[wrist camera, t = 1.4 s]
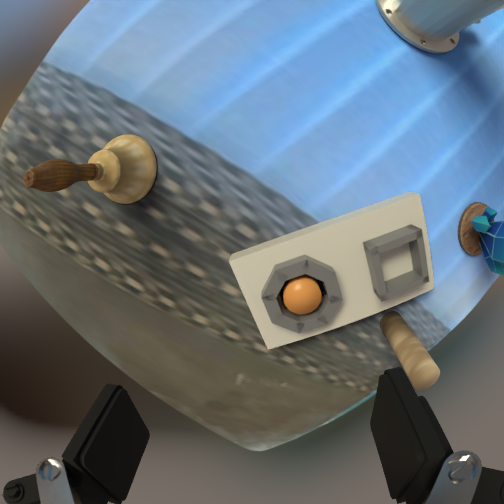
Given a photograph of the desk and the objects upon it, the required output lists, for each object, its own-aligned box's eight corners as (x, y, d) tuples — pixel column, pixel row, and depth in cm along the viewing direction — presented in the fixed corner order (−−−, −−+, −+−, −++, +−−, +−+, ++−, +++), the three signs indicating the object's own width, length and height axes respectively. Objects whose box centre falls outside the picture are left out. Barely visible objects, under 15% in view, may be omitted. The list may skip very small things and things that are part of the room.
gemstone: (468, 268, 31) (521, 305, 20) (448, 218, 29) (510, 245, 18) (498, 237, 29) (553, 264, 18) (481, 187, 28) (543, 203, 16)
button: (312, 267, 30) (315, 274, 28) (322, 298, 31) (325, 307, 30) (277, 280, 31) (278, 287, 29) (289, 310, 32) (290, 318, 30)
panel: (409, 191, 29) (430, 196, 24) (425, 280, 32) (443, 296, 27) (231, 254, 32) (225, 269, 28) (268, 337, 35) (267, 362, 31)
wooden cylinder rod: (399, 307, 33) (440, 362, 22) (401, 326, 34) (439, 382, 23) (378, 316, 34) (413, 375, 22) (381, 335, 35) (413, 394, 23)
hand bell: (87, 173, 30) (-10, 190, 15) (125, 120, 28) (30, 103, 13) (128, 217, 32) (39, 261, 17) (171, 165, 30) (88, 172, 15)
